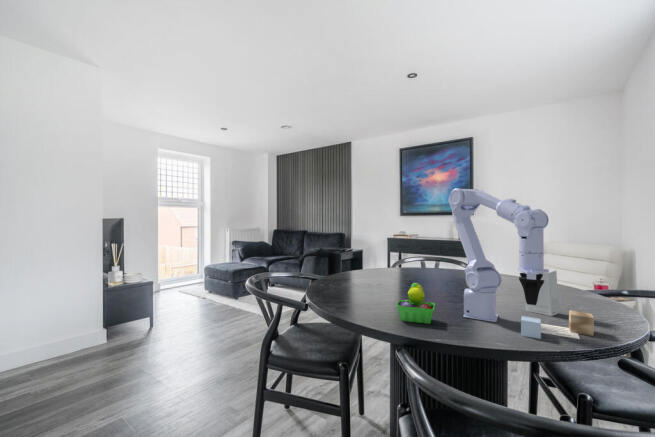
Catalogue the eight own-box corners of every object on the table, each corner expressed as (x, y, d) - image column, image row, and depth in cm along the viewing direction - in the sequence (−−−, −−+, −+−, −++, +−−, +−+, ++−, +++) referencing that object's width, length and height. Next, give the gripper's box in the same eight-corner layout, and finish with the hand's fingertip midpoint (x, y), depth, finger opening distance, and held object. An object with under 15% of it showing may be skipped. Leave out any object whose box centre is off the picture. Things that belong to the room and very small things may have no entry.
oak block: (570, 331, 87) (571, 314, 87) (568, 326, 91) (569, 310, 91) (593, 336, 84) (594, 318, 84) (590, 330, 89) (591, 313, 88)
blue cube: (521, 336, 85) (521, 320, 85) (521, 331, 88) (521, 315, 88) (540, 339, 82) (540, 323, 82) (540, 334, 86) (540, 318, 86)
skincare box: (559, 314, 104) (558, 270, 104) (551, 317, 101) (551, 272, 101) (531, 308, 111) (531, 267, 111) (523, 310, 108) (523, 268, 108)
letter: (526, 330, 89) (526, 330, 89) (526, 321, 96) (526, 321, 96) (580, 339, 82) (580, 338, 82) (575, 329, 90) (575, 328, 90)
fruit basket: (396, 321, 97) (396, 285, 97) (400, 313, 105) (400, 280, 105) (434, 326, 93) (434, 288, 93) (435, 317, 101) (435, 283, 101)
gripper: (550, 256, 77) (550, 310, 77) (547, 251, 89) (547, 297, 89) (517, 254, 81) (517, 305, 81) (518, 249, 93) (518, 294, 93)
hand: (531, 301), depth 85 cm, fingers open, 7 cm apart
